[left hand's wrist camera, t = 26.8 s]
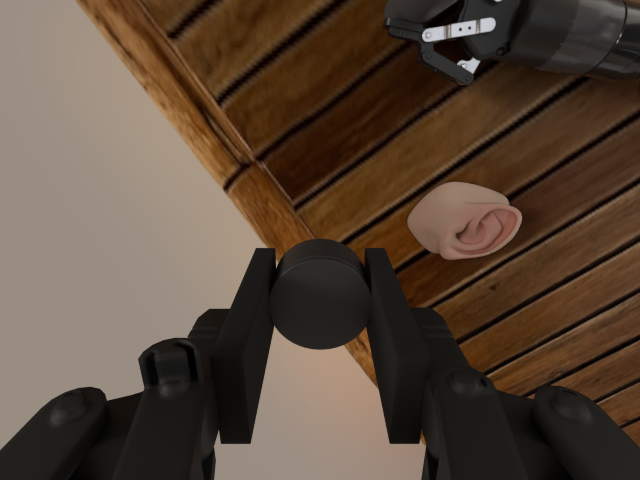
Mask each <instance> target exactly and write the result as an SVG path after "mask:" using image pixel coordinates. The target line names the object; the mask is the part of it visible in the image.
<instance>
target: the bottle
mask: <svg viewBox="0 0 640 480" xmlns="http://www.w3.org/2000/svg"><path fill="white" fill-rule="evenodd" d="M456 1H458V0H388V1H387V3H386V6H385V11H384V17H385V19H386V18H387V17H391V18H396V19H400V20H405V21H410V22H414V23H419V24H425V23H426V22H428V21H429V20H430V19H432V18H433V17H435V16H436V15H438V14H439V13H441V12H442V11H443V10H445V9H446V8H448V7H449V6H451V5H452V4H454V3H455V2H456Z"/></svg>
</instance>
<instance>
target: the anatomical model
mask: <svg viewBox="0 0 640 480" xmlns="http://www.w3.org/2000/svg"><path fill="white" fill-rule="evenodd" d="M521 221H522V215H521V213H520V211H519V210H518V209H516V208H515V207H512V206H510V205H509V201H508V199H507V198H506V197H505V196H504V195H502V194H500V193H498V192H496V191H494V190H491V189H488V188H485V187H481V186H478V185H474V184H469V183H463V182H449V183H445V184H442V185H440V186H438V187H437V188H435V189H434V190H432V191H431V192H430V193H428V194H427V195H426V196H425V197H424V198H423V199H422V200H421V201H420V202H419V203H418V204H417V205H416V206H415V208H414V209H413V210H412V211H411V213H410V215H409V217H408V220H407V223H408V227H409V229H410V230H411V232H412V233H413V235H414V236H415V237H416V239H417V240H418V241H419V242H420V243H421V244H422V245H423V246H424V247H425V248H426V249H427V250H429V251H430V252H433V253H439V254H441V256H442V257H443V258H445V259H447V260H454V259H464V258H474V257H481V256H485V255H488V254H491V253H493V252H495V251H497V250H498V249H500V248H502V247H503V246H504V245H506V244H507V243H508V242H509V241H510V240H511V239H512V238H513V237H514V235H515V234H516V232H517V231H518V229H519V227H520V224H521Z"/></svg>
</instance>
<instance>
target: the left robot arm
mask: <svg viewBox="0 0 640 480" xmlns="http://www.w3.org/2000/svg"><path fill="white" fill-rule="evenodd" d="M364 269H365V273H366V277H367V280H368V284H369V288H370V292H371V308H370V319H369V321H368V323H367V325H366V328H367V333H368V338H369V343H370V348H371V353H372V358H373V363H374V368H375V373H376V378H377V383H378V388H379V393H380V398H381V403H382V408H383V412H384V417H385V422H386V427H387V432H388V437H389V442H390V444H419V442H420V434H421V428H422V432H423V435H424V438H425V441H426V451H425V458H424V465H423V472H422V479H421V480H640V447H639V446H638V445H637V444H636V443H635V442H634V441H633V440H632V439H631V438H630V437H629V436H628V435H627V434H626V433H625V432H624V431H623V430H622V429H621V428H620V427H619V426H618V425H617V424H616V423H615V422H614V421H613V420H612V419H611V418H610V417H609V416H608V415H607V414H606V413H605V412H604V411H603V410H602V409H601V408H600V407H599V406H598V405H597V404H596V403H594V402H593V401H592V400H591V399H589V398H588V397H586V396H584V395H582V394H581V393H579V392H577V391H575V390H571V389H568V388H565V387H562V386H551V385H550V386H545V387H541V388H540V389H539V390H538V391H537V392H536V393H535V397H534V399H529V398H525V397H521V396H517V395H512V394H508V393H505V392H502V391H499V390H497V389H496V388H495V386H494V385H493V383H492V382H491V380H490V379H489V378H488V377H486V376H485V375H484V374H483V373H481V372H479V371H477V370H475V369H473V368H471V367H470V365H469V363H468V362H467V360H466V358H465V356H464V354H463V353H462V351H461V349H460V347H459V346H458V344H457V342H456V340H455V338H453V335H452V333H451V331H450V330H449V329H448V326H447V324H446V322H445V321H444V319H443V317H442V316H441V315H440V314H438V313H437V312H436V311H434V310H433V309H432V308H410V307H409V305H408V303H407V300H406V298H405V296H404V293H403V291H402V289H401V286H400V284H399V282H398V279H397V277H396V275H395V272H394V270H393V268H392V265H391V263H390V261H389V258H388V256H387V254H386V251H385V249H384V248H365V261H364ZM275 272H276V257H275V248H256V250H255V252H254V254H253V257H252V259H251V261H250V264H249V266H248V268H247V271H246V273H245V275H244V278H243V280H242V282H241V285H240V287H239V289H238V292H237V294H236V296H235V299H234V301H233V303H232V306H231V308H230V309H209V310H207V311H206V312H205V313H204V314H202V315H201V316H200V317H199V318H198V319H197V321H196V323H195V324H194V326H193V328H192V330H191V332H190V333H189V335H188V338H172V339H167V340H163V341H161V342H158V343H156V344H154V345H152V346H151V347H149V348H148V349H146V350H145V351H144V352H143V353H142V354H141V356H140V357H139V359H138V361H139V365H140V370H141V374H142V379H143V383H144V388H145V389H144V391H142V392H140V393H137V394H133V395H130V396H126V397H121V398H117V399H113V400H109V401H107V399H106V396H105V394H104V393H103V392H102V391H101V390H100V389H98V388H94V387H84V388H77V389H74V390H71V391H68V392H65V393H63V394H61V395H59V396H57V397H56V398H54V399H52V400H51V401H50V402H48V403H47V404H46V405H45V406H43V407H42V408H41V409H40V410H39V411H38V412H37V413H36V414H35V415H34V416H33V417H32V418H31V419H30V420H29V421H28V422H27V423H26V425H24V427H22V429H21V430H20V431H19V432H18V433H17V434H16V435H15V436H14V437H13V438H12V439H11V440H10V441H9V442H8V443H7V444H6V445H5V446H4V447H3V448H2V449H1V450H0V480H214V474H215V463H216V459H215V451H214V444H215V441H216V437H217V434H218V431H219V433H220V440H221V444H250V443H251V439H252V433H253V428H254V424H255V418H256V414H257V409H258V404H259V399H260V394H261V389H262V384H263V379H264V374H265V369H266V364H267V359H268V354H269V349H270V344H271V339H272V334H273V329H274V324H273V322H272V319H271V317H270V304H269V295H270V291H271V287H272V283H273V280H274V276H275Z"/></svg>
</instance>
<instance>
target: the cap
mask: <svg viewBox="0 0 640 480" xmlns="http://www.w3.org/2000/svg"><path fill="white" fill-rule="evenodd" d="M269 304H270V317H271V319H272V322H273V324H274V325H275V327H276V328H277V330H278V331H279V332H280V333H281V334H282V335H283V336H284V337H285V338H286V339H288V340H289V341H291V342H293V343H294V344H297V345H299V346H302V347H305V348H309V349H317V350H323V349H332V348H336V347H339V346H342V345H344V344H346V343H348V342H350V341H352V340H353V339H355V338H356V337H357V336H358V335H359V334H360V333H361V332H362V331H363V330H364V328H365V327H366V325H367V323H368V321H369V319H370V308H371V292H370V288H369V284H368V280H367V277H366V273H365V269H364V266H363V264H362V262H361V260H360V258H359V257H358V256H357V255H356V253H355V252H353V251H352V250H351V249H350V248H349V247H347V246H345V245H344V244H342V243H339V242H337V241H333V240H329V239H312V240H308V241H304V242H302V243H299V244H297V245H295V246H294V247H292V248H291V249H290V250H288V251H287V252H286V253H285V254H284V256H283V257H282V258H281V260H280V262H279V263H278V266H277V268H276V272H275V276H274V280H273V283H272V287H271V291H270V295H269Z"/></svg>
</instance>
